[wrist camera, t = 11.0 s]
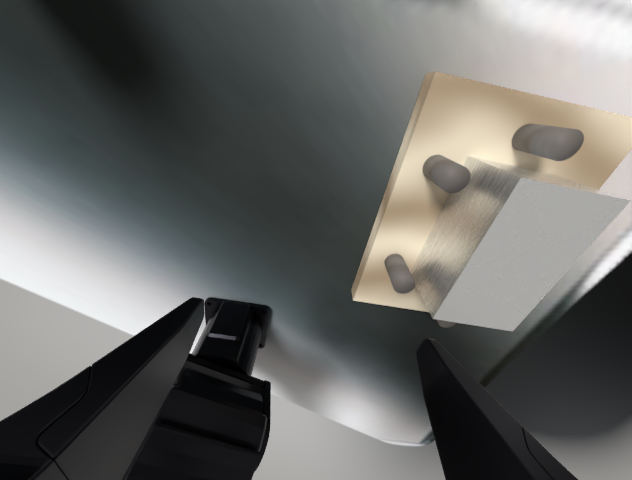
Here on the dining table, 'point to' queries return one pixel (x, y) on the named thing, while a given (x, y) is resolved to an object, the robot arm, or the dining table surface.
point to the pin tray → (476, 137)
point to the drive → (507, 242)
